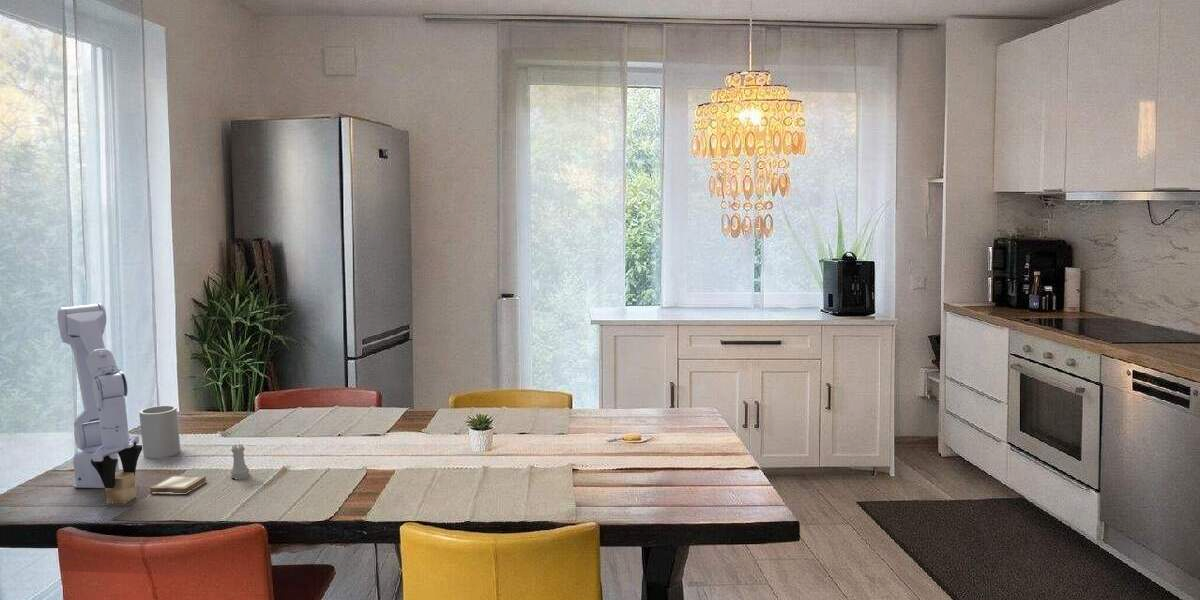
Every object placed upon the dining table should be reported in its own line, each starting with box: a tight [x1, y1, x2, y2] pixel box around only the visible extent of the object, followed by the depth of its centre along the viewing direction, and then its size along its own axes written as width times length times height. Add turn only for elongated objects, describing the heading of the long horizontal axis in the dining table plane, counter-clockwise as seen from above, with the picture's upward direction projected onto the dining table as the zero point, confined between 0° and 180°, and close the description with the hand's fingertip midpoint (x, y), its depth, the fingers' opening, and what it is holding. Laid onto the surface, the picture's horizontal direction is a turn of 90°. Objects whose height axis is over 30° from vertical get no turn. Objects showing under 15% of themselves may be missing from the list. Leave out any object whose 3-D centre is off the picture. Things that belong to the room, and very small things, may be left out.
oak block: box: [104, 471, 137, 504], centre depth 235 cm, size 4×4×6 cm
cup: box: [139, 404, 181, 459], centre depth 272 cm, size 9×9×12 cm
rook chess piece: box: [230, 443, 250, 480], centre depth 250 cm, size 4×4×8 cm
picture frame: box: [149, 475, 207, 494], centre depth 243 cm, size 9×9×2 cm
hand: (119, 482), depth 235 cm, fingers open, 7 cm apart
